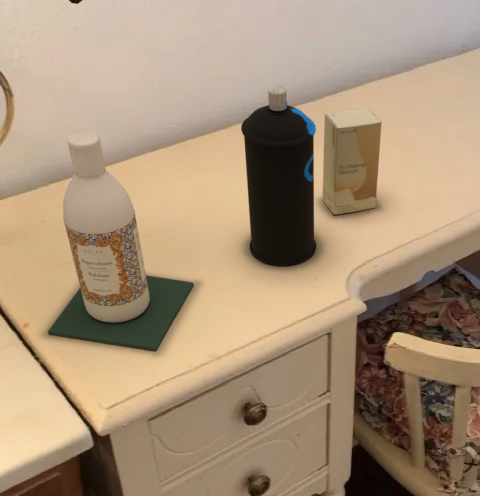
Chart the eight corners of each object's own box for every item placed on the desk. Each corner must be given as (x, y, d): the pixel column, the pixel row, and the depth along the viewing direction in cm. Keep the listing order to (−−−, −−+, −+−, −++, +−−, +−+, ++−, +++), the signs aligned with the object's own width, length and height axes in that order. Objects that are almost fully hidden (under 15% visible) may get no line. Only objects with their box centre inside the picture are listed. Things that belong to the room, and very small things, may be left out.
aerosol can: (261, 272, 99) (251, 111, 85) (241, 235, 104) (229, 79, 91) (326, 259, 102) (326, 101, 88) (303, 224, 107) (300, 70, 93)
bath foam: (77, 322, 90) (33, 152, 76) (97, 284, 95) (59, 118, 81) (140, 327, 90) (108, 158, 76) (157, 289, 95) (129, 123, 81)
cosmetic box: (333, 216, 109) (334, 128, 100) (321, 200, 111) (321, 112, 103) (378, 207, 111) (383, 120, 102) (365, 191, 114) (369, 105, 105)
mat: (48, 334, 89) (47, 331, 89) (95, 270, 98) (94, 267, 97) (155, 351, 88) (155, 348, 88) (193, 285, 97) (193, 282, 96)
